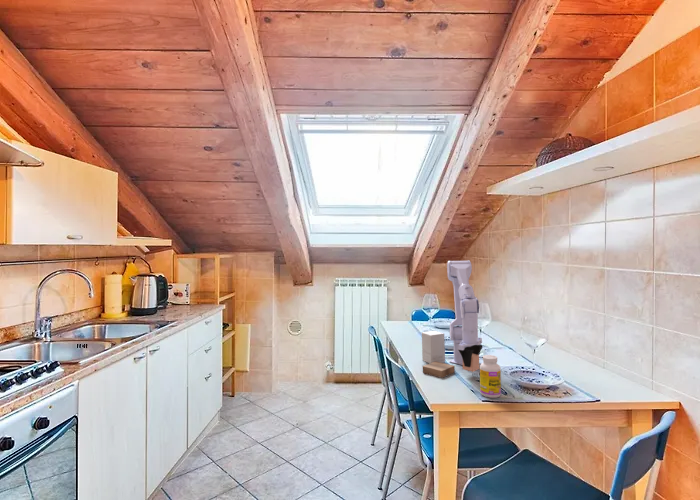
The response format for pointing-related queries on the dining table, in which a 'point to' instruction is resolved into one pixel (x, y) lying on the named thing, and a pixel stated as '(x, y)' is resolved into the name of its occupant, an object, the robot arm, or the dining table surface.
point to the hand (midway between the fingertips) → (470, 365)
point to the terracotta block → (473, 363)
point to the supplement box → (433, 347)
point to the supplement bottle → (490, 377)
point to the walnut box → (438, 369)
